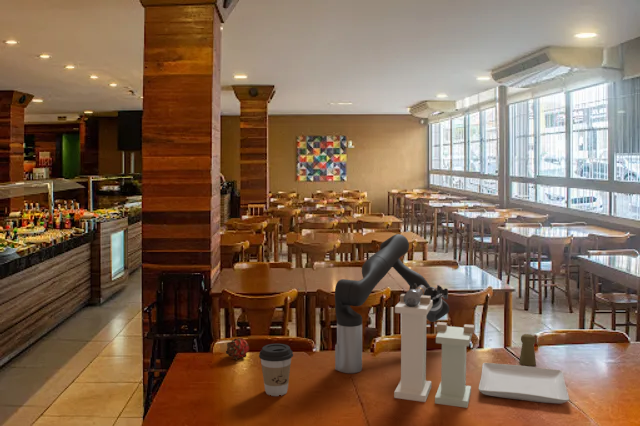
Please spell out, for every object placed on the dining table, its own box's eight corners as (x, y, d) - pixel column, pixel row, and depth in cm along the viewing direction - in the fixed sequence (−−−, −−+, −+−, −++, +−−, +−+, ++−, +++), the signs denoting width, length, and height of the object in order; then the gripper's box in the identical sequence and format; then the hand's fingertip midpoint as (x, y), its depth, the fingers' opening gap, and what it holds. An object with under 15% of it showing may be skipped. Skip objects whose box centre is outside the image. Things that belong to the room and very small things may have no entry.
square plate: (562, 379, 199) (562, 368, 198) (569, 411, 173) (569, 399, 173) (482, 370, 207) (482, 360, 207) (477, 399, 182) (478, 388, 181)
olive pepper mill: (537, 366, 210) (538, 337, 209) (520, 365, 212) (521, 336, 211) (534, 361, 216) (535, 332, 215) (517, 360, 217) (518, 332, 216)
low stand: (432, 403, 178) (433, 330, 176) (437, 387, 191) (439, 319, 189) (470, 408, 174) (471, 333, 172) (473, 392, 187) (474, 322, 185)
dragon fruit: (231, 367, 215) (239, 361, 227) (249, 354, 214) (256, 349, 226) (219, 348, 216) (227, 343, 227) (237, 336, 215) (244, 331, 227)
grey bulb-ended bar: (419, 308, 178) (419, 292, 178) (403, 307, 180) (403, 291, 180) (428, 294, 198) (428, 279, 197) (414, 293, 199) (414, 278, 199)
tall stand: (394, 397, 182) (395, 300, 180) (402, 383, 195) (403, 291, 192) (425, 402, 179) (426, 302, 176) (431, 386, 191) (432, 294, 189)
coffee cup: (267, 401, 180) (266, 355, 179) (254, 389, 190) (253, 345, 189) (299, 394, 185) (299, 350, 184) (285, 382, 195) (284, 340, 194)
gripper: (414, 288, 226) (408, 276, 212) (450, 291, 222) (446, 278, 208) (412, 307, 223) (406, 295, 209) (449, 310, 219) (445, 298, 205)
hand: (426, 286), depth 209 cm, fingers open, 8 cm apart
